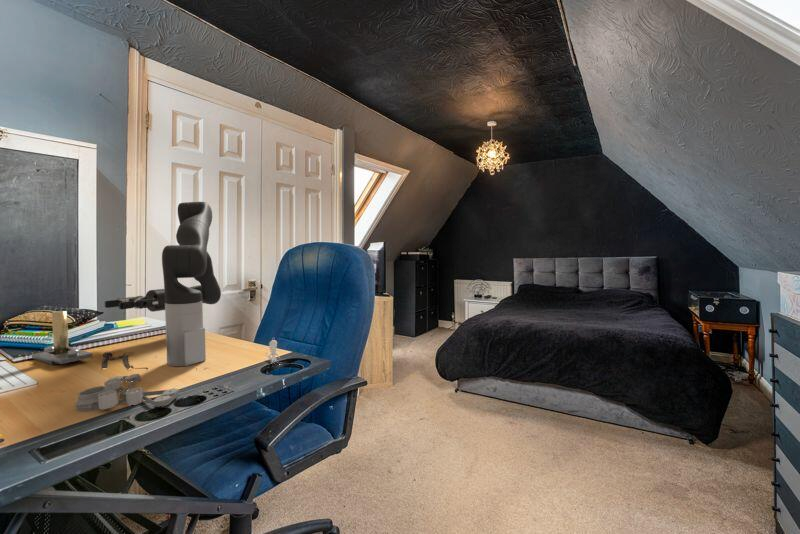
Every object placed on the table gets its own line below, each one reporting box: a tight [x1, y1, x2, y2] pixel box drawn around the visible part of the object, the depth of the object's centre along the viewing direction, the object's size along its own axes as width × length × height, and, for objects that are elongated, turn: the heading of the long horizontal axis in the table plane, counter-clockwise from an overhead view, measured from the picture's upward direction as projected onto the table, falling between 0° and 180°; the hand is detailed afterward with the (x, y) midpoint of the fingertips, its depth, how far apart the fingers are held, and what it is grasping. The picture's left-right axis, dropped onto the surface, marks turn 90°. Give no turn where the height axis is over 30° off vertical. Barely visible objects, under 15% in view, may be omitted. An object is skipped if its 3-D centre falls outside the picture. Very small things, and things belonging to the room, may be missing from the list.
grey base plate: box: [31, 345, 93, 366], centre depth 108 cm, size 19×7×4 cm, turn 62°
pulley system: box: [74, 373, 180, 412], centre depth 82 cm, size 27×5×15 cm
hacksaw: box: [101, 351, 149, 371], centre depth 106 cm, size 24×10×2 cm, turn 37°
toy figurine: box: [265, 337, 281, 366], centre depth 107 cm, size 5×8×7 cm, turn 42°
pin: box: [51, 310, 70, 355], centre depth 108 cm, size 3×3×14 cm
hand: (112, 305), depth 118 cm, fingers open, 8 cm apart
